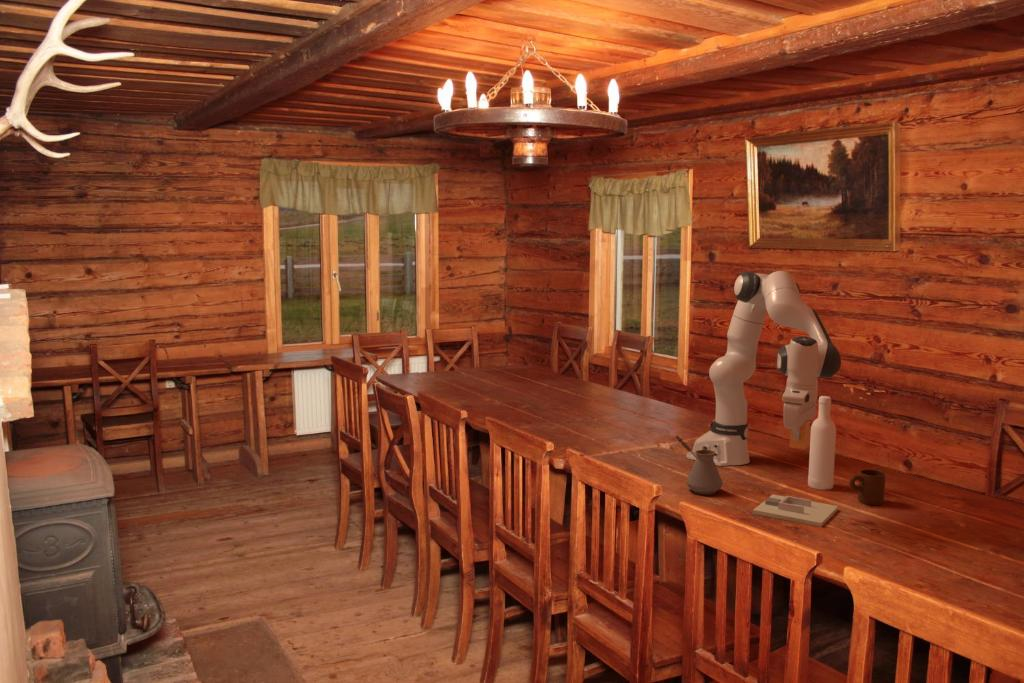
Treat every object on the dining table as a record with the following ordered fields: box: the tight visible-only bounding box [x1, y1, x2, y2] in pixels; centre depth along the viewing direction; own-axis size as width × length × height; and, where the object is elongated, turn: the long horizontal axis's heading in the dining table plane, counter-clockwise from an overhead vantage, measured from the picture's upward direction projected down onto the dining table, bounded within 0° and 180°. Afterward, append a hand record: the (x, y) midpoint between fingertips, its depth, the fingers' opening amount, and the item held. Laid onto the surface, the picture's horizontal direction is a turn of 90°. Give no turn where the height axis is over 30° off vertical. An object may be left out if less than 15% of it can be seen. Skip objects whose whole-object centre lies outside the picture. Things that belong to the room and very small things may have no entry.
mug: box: [848, 469, 886, 506], centre depth 278 cm, size 12×8×9 cm, turn 108°
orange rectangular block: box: [788, 420, 811, 450], centre depth 266 cm, size 4×4×8 cm
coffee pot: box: [672, 435, 723, 495], centre depth 293 cm, size 21×12×15 cm, turn 27°
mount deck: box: [752, 494, 839, 528], centre depth 270 cm, size 20×18×3 cm
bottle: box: [807, 395, 837, 491], centre depth 293 cm, size 8×8×30 cm
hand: (799, 438), depth 267 cm, fingers closed on orange rectangular block, 4 cm apart
